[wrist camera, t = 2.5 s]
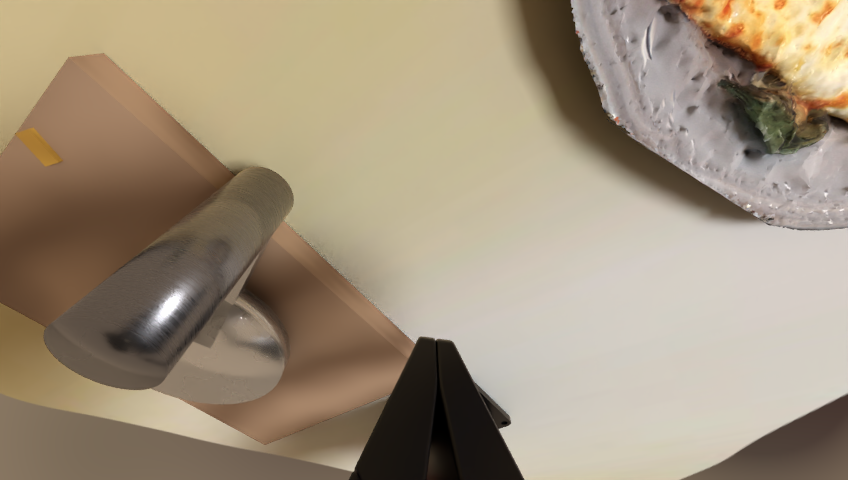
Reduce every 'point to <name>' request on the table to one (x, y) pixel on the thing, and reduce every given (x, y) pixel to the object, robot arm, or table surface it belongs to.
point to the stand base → (151, 217)
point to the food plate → (733, 96)
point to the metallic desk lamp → (188, 305)
